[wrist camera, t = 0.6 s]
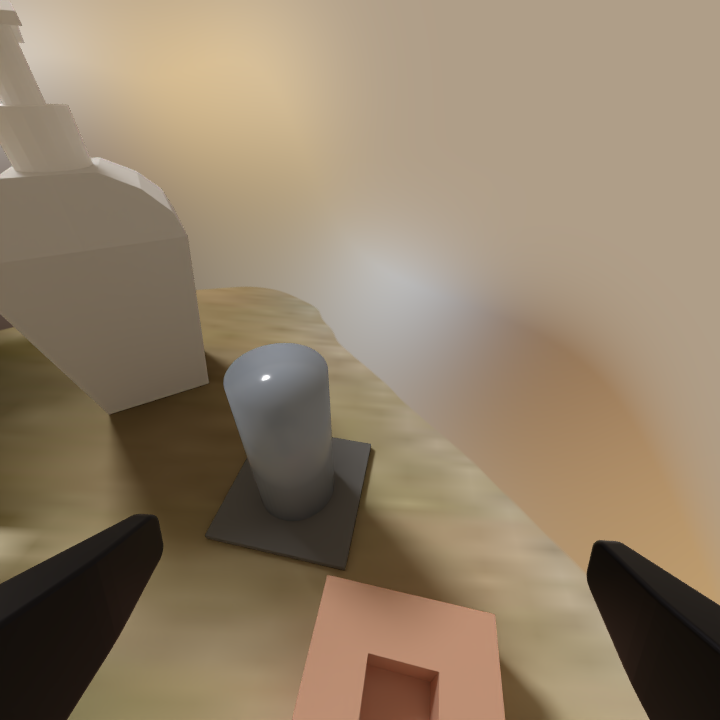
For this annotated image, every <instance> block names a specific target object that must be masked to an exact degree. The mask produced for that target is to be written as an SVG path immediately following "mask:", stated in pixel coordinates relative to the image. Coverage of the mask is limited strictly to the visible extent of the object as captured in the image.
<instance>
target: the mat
mask: <svg viewBox="0 0 720 720" xmlns="http://www.w3.org/2000/svg"><path fill="white" fill-rule="evenodd" d="M332 448H333V465H334V482H335V483H334V490H333V494H332V496H331V498H330V500H329V502H328V503H327V504H326V506H325V507H324V508H323V509H322V510H321V511H319V512H318V513H317V514H315V515H313V516H312V517H309V518H307V519H304V520H300V521H285V520H281V519H279V518H276V517H274V516H273V515H271V514H270V513H269V512H268V511H267V510H266V508H265V507H264V505H263V503H262V500H261V498H260V494H259V491H258V488H257V485H256V482H255V479H254V476H253V473H252V470H251V467H250V464H249V461H248V458H247V459H246V461H245V463H244V464H243V466H242V468H241V470H240V472H239V474H238V475H237V477H236V479H235V481H234V483H233V485H232V487H231V488H230V490H229V492H228V494H227V496H226V498H225V499H224V501H223V503H222V505H221V507H220V509H219V510H218V512H217V514H216V516H215V518H214V520H213V521H212V523H211V525H210V527H209V529H208V531H207V532H206V534H205V537H206V538H208V539H212V540H216V541H220V542H225V543H229V544H233V545H238V546H242V547H246V548H251V549H255V550H259V551H263V552H268V553H272V554H276V555H281V556H285V557H289V558H294V559H298V560H302V561H306V562H311V563H315V564H319V565H324V566H328V567H332V568H337V569H341V570H345V568H346V563H347V558H348V554H349V549H350V544H351V539H352V535H353V530H354V525H355V520H356V516H357V511H358V506H359V501H360V497H361V492H362V487H363V482H364V477H365V473H366V468H367V463H368V458H369V454H370V449H371V444H368V443H362V442H356V441H351V440H345V439H339V438H333V437H332Z"/></svg>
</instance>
